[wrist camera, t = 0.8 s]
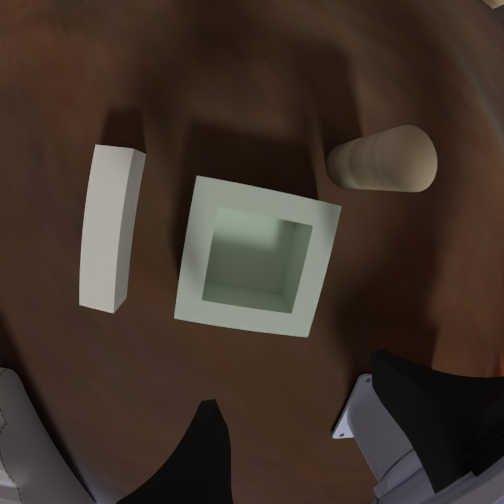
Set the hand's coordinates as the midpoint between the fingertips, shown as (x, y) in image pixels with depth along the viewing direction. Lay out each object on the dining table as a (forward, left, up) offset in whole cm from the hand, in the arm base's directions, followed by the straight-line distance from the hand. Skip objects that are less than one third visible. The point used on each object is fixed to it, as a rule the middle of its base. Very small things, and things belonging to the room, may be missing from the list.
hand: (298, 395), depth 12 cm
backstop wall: (+11, -4, -10) cm, 15 cm away
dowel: (-3, -11, -10) cm, 15 cm away
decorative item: (+20, +24, -10) cm, 33 cm away
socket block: (+2, -4, -10) cm, 11 cm away
